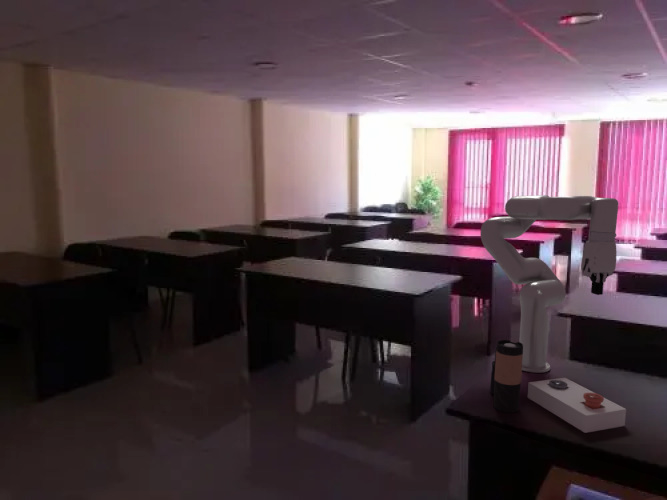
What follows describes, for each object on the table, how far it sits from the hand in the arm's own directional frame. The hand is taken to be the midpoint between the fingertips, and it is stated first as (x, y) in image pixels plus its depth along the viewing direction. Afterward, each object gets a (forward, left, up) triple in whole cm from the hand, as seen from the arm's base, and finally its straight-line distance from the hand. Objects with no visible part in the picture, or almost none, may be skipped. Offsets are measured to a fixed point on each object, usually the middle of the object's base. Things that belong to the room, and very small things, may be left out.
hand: (596, 293), depth 173 cm
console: (+12, -17, -32) cm, 38 cm away
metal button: (+5, -17, -31) cm, 35 cm away
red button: (+19, -17, -29) cm, 39 cm away
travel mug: (+4, -35, -32) cm, 48 cm away
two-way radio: (-6, -31, -32) cm, 45 cm away
